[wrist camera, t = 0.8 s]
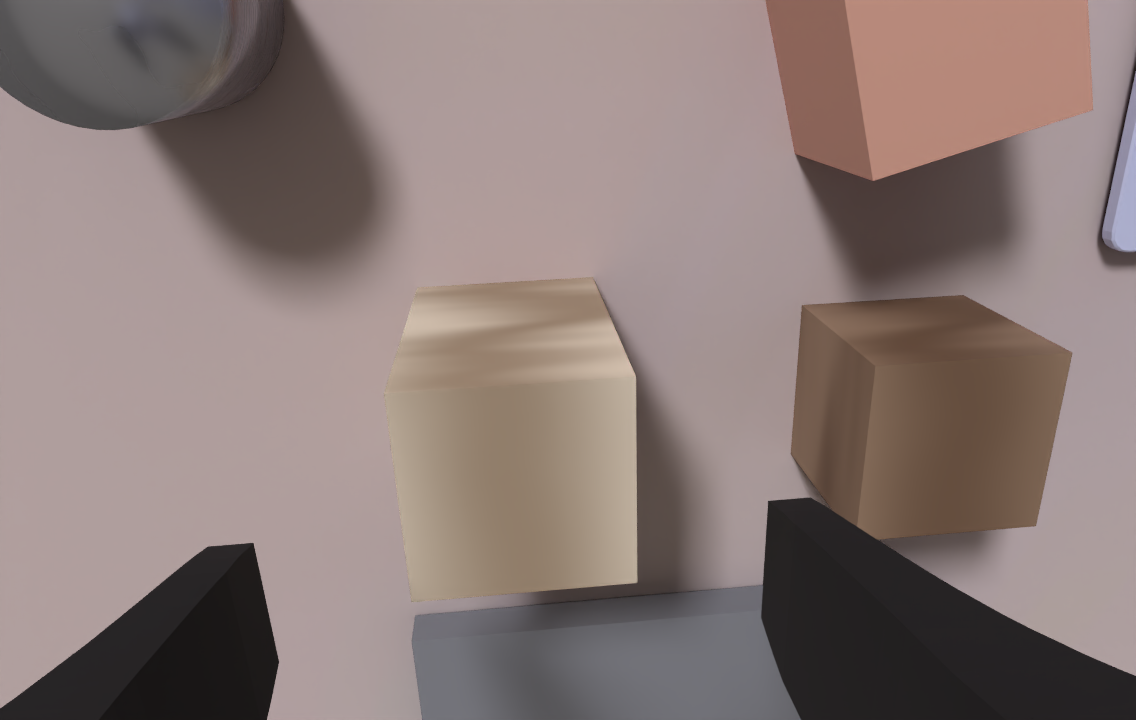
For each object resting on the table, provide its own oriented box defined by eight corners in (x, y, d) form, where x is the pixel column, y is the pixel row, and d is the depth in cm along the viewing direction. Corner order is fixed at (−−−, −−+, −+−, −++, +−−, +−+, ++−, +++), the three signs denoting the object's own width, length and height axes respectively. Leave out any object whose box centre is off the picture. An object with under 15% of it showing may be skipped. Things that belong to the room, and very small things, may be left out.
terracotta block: (945, -101, 16) (1080, -146, 12) (967, 96, 18) (1093, 109, 14) (756, -38, 16) (834, -64, 13) (794, 153, 18) (872, 180, 14)
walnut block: (961, 294, 19) (1072, 352, 16) (939, 440, 21) (1035, 526, 17) (800, 304, 19) (875, 366, 15) (790, 452, 21) (855, 541, 17)
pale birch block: (592, 277, 18) (635, 376, 13) (596, 432, 20) (637, 582, 14) (417, 287, 18) (383, 393, 13) (435, 444, 20) (411, 602, 14)
